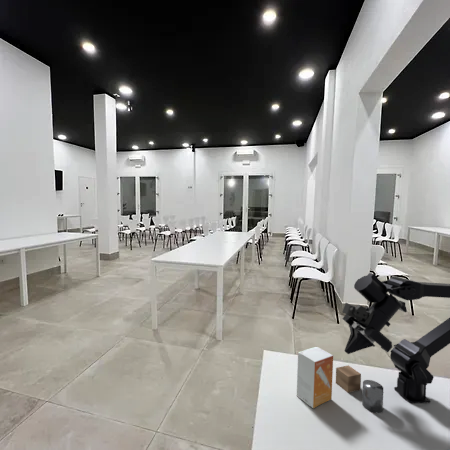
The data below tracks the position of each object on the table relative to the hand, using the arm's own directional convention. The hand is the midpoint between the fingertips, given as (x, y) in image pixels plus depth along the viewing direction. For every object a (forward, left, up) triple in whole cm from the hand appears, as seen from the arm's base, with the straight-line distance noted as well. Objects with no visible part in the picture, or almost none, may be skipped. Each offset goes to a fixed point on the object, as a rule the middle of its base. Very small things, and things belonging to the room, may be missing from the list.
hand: (346, 352), depth 76 cm
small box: (+9, 0, -13) cm, 16 cm away
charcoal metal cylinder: (-6, +4, -13) cm, 15 cm away
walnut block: (-4, -5, -13) cm, 15 cm away
